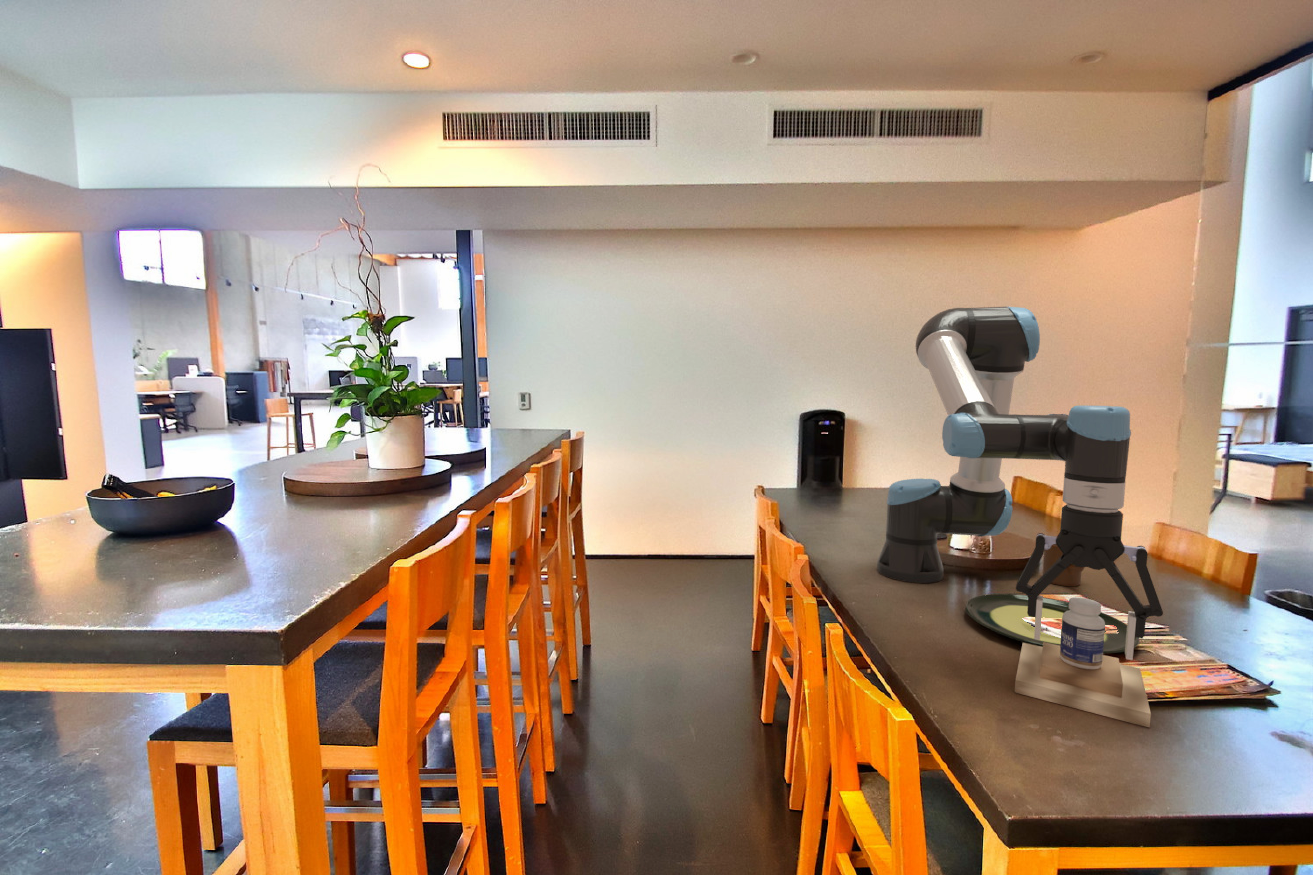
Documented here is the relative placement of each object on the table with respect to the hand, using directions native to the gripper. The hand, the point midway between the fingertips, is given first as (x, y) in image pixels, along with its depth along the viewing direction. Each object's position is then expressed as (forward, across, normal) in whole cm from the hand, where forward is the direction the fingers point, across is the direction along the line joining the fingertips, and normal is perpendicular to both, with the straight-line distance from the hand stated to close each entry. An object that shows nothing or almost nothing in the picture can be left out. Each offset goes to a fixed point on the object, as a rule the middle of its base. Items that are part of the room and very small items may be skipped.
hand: (1081, 646), depth 92 cm
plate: (+7, -5, +23) cm, 25 cm away
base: (+6, 0, 0) cm, 6 cm away
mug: (+7, -2, +56) cm, 56 cm away
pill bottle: (+3, 0, 0) cm, 3 cm away
